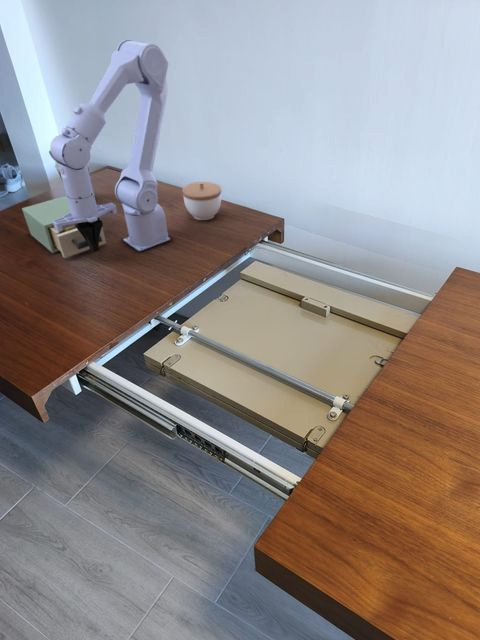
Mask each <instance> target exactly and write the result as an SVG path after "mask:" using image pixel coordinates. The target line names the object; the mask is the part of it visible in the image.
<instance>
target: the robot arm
mask: <svg viewBox="0 0 480 640" xmlns="http://www.w3.org/2000/svg"><path fill="white" fill-rule="evenodd" d="M168 68H169V62H168V59H167V57H166V56H165V54H164V52H163V50H162V48H161V47H159V45H157V44H154V43H143V42H139V41H134V40H131V39H124V40H122V41H120V42H119V43H118V45H117V47H116V50H114V51H113V53H111V57H110V64H109V66H108V67H107V69H106V71H105V73H104V74H103V77H102V79H100V80H101V81H100V82H99V84H98V86H97V88H96V89H95V91H94V93H93V96H92V97H91V99H90V100H89V101H88V102H85V103H84V102H82V103H80V104H79V106H77V105H76V106H75V107H74V109H73V110H72V111H73V115H72V116H71V118H70V120H69V121H68V123H67V124H66V126H65V127H63V128H62V129H61V134H58V135H56V136H54V137H53V139H52V140H51V143H50V150H48V153H49V156H50V157H51V158H52V160H53V161H56V162H57V163H58V166H59V170H60V173H61V177H62V180H61V182H62V181H63V182H62V185H63V184H64V185H63V188H64V192H65V196H67V199H68V203H69V206H70V210H71V213H69V214H67V215H65V216H63V217H61V218H60V219H57V220H55V221H53V224H54V228H55V230H57V231H58V232H61V231H63V229H65V228H68V227H71V226H75V227H76V228H77V229H78V231H79V232H80V233H81V234H82V236H83V237H84V239H85V240H86V242H87V244H88V246H89V248H90V249H89V250H91V251H92V252H93V253H94V252H97V251H99V250H100V246H99V236H100V232H101V229H102V228H103V226H104V223H103V221H102V219H100V218H103V217H105V216H108V215H115V214H117V213H118V210H117V205H116V204H114V203H113V202H109V203H105V204H104V203H103V204H98V205H97V201H96V197H95V192H94V188H93V185H92V180H91V175H89V174H90V170H89V171H88V167H87V163H88V162H89V163H90V160H91V150H92V146H93V144H94V142H95V141H96V140H97V138H98V136H99V135H100V133H101V132H102V130H103V129H104V127H105V125H106V121H107V120H106V116H105V114H106V113H107V112H108V110H109V108H110V107H111V106H112V104H113V103H114V102H115V100H116V99H117V98H118V96H119V95H120V94H121V92H122V91H123V90H124V88H125V87H126V86H127V85H129V84H135V86H136V88H137V89H138V91H139V93H140V101H139V106H138V111H137V117H136V123H135V129H134V134H133V140H132V146H131V151H130V156H129V157H130V158H129V161H128V165H127V166H126V167H125V168H124V169H122V171H121V173H120V176H119V179H118V181H117V182H116V184H115V187H114V196H115V198H116V199H117V201H119V202H120V203H121V206H122V208H123V212H124V218H125V223H126V228H127V233H128V237H125V238H123V242H124V243H126V244H127V245H128V246H130V247H132V248H133V249H135V250H136V251H137V252H142V251H145V250H147V249H150V248H153V247H155V246H157V245H161V244H163V243H165V242H168V241H170V240H171V238H170V236H169V232H168V225H167V219H166V218H167V217H166V214H165V211H164V209H163V207H162V206H161V205H160V204H159V203H158V201H159V196H158V187H159V184H158V181H157V179H156V177H155V175H154V173H153V169H154V165H155V159H156V154H157V149H158V145H159V139H160V134H161V129H162V123H163V118H164V114H165V109H166V103H167V98H168V82H167V74H168V73H167V72H168ZM61 177H60V178H61Z"/></svg>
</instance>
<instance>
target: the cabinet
mask: <svg viewBox="0 0 480 640" xmlns="http://www.w3.org/2000/svg"><path fill="white" fill-rule="evenodd" d="M21 210H22V213H23V216H24V218H25V222H26V225H27V228H28V230H29V232H30V236H31V237H33V238H34V239H35V240H37V242H39V243H40V244H41V245H42V246H44V247H45V248H46V249H47V250H48V251H49V252H50V253H52V254H55V253H57V252H61V251H60V250H58V249H57V248H56V247H55V246H54V245H53V243H52V240H51V237H50V234H49V231H48V227H51V226H54V224H53V221H55V220H57V219H60V218H61V217H63V216H65V215H67V214H69V213H71V210H70V206H69V203H68V199H67V195H63V196H60V197H57V198H53V199H49V200H47V201H41V202H40V203H36V204H32V205H28V206H25V207H22V208H21Z"/></svg>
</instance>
